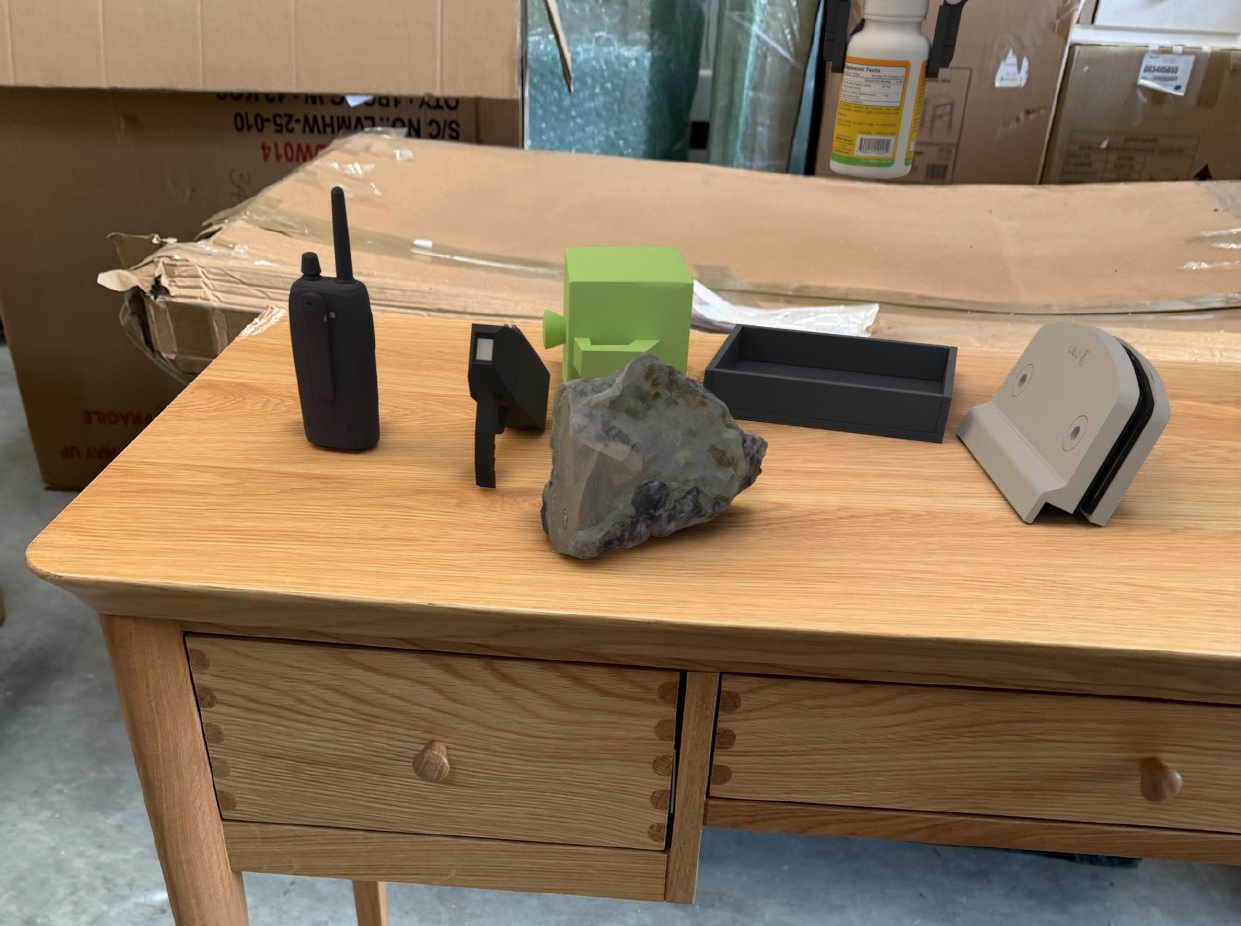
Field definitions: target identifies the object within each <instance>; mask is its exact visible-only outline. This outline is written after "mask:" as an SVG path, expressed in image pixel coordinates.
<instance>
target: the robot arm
mask: <svg viewBox="0 0 1241 926" xmlns="http://www.w3.org/2000/svg"><path fill="white" fill-rule="evenodd" d="M968 1H969V0H943V1H942V3H941V4H939V5H938V11H937V17H936V23H935V28H934V34H933V37H932V38H933V39H932V43H931V44H932V50H931V55H930V61H929V66H928V72H927V79H928V80H929V79H932V80H938V79H939V76H940V72H941V69H949V66H950V64H951V63H952V61H953V59H954V57H955V51H956V46H957V41H958V35H959V30H960V25H961V19H962V14H963V9H964V7H965V5H966V4H967V3H968ZM854 7H855V0H828V10H827V17H826V25H825V31H824V32H825V34H824V38H823V39H824V40H823V46H822V47H823V48H822V54H823V55H822V56H823V61H824V62H827V63H829V62H830V63H831V65H830V73H831V74H839V75H840V74H841V75H842V72H843V65H844V58H845V52H846V46H847V43H848V41H849V39H850V37H851V36H850V35H851V28H852V21H853V15H854Z"/></svg>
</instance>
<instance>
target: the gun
mask: <svg viewBox="0 0 1241 926" xmlns="http://www.w3.org/2000/svg"><path fill="white" fill-rule="evenodd" d="M510 326H511V327H510ZM510 326H509V324H508V323H503V325H501V324H500V325H498V324H486V323H471V328H470V329H471V330H470V340H469V341H470V342H469V354H468V367H467V384H468V390H469V397H470V398H472V400H473V401H474V402H475V403H476V408H475V409H476V410H475V411H476V412H475V425H474V476H475V485H476V486H477V487H479V488H484V489H493V490H494V489H497V478H496V476H497V475H496V469H495V468H496V456H495V455H496V450H497V449H496V447H497V445H496V436H497V435H500V436H501V435H503V434H504V433H505V430H506V429H513V430H524V431H525V430H526V431H534V432H535V431H537V432H546V425H547V414H548V405H549V395H550V384H551V372H549V370H548V368H547V366H546V365H545V363H544V362H543V360H542V358H541V357H540V355H539V353H537V351H536V349H535V348H534V347H533V346H532V343H530V341H529V339H528V338H527V337H526V335H525V334H524V333H523V331H522V330H521V329H520V328H519V327H518V326H517V325H516V324H511V325H510Z"/></svg>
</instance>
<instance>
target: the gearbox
mask: <svg viewBox="0 0 1241 926" xmlns="http://www.w3.org/2000/svg"><path fill="white" fill-rule="evenodd" d="M563 257H564V261H563V264H564V265H563V267H564V268H563V307H562V308H563V310H562V315H561V314H559V313H556V312H554V311H552V310H549V309H544V311H543V316H542V317H543V318H542V345H543V348H544V351H545V350H550V349H553V348H556V347H559V346H561V345H562V356H561V357H562V358H561V359H562V360H561V365H562V366H561V373H562V374H561V375H562V382H563V381H569V380H575V379H583V378H585V379H589V380H592V379H595V378H598V377H600V378H603V379H604V378H606V377H608V376H610V375H611V374H612V373H614V372H615V371H616V370H622V369H623V368H624V367H625V366H626V365H627V364H628V363H629V362H630V361H631V360H632V359H637V358H638V357H639V356H640V355H641V354H642V352H646V353H650V354H652V355H654V356H655V357H657V358H659V359H660V360H661V361H662V362H664V363H667V364H669V365H671V366H673V367H674V368H677V369H678V370H680V371H681V372H682V374H683V375H684V377H687V370H688V362H689V361H688V360H689V347H690V336H691V326H692V325H691V323H692V313H693V312H692V311H693V300H694V287H695V282H694V279H693V276H692V273H691V271H690V268H689V266H688V264H687V261H686V260H685V258H684V255H683V254H682V253H681V251H680V249H679V248H678V247H677V248H676V247H670V246H659V245H601V246H600V245H599V246H596V245H595V246H567V247H566V248H564V256H563Z"/></svg>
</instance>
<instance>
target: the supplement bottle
mask: <svg viewBox="0 0 1241 926" xmlns="http://www.w3.org/2000/svg"><path fill="white" fill-rule="evenodd" d="M930 1H931V0H863V5H862V14H861V18H862V19H864V24H863V27H862V29H861V30H860V31H857V32H855V33H854V34H852V35H851V36H849V41H848V43H847V46H846V52H845V58H844V65H843V72H842V74H841V82H840V87H839V95H838V100H837V101H838V102H837V109H836V116H835V124H834V129H833V137H832V145H831V150H830V151H831V152H830V161H829V167H830V169H831V171H832V172H834V173H836V174H839V175H843V176H849V177H857V178H864V179H866V178H867V179H894V178H900V177H905V176H906V175H908V174H909V173H910V171H911V169H912V165H913V160H914V154H915V147H916V142H917V136H918V131H919V127H920V126H919V125H920V121H921V120H920V119H921V114H922V109H923V102H924V98H925V93H926V87H927V81H928V78H927V72H928V66H929V61H930V55H931V50H932V44H933V43H932V41H931V39H930V38H929V36H927V35H925V34H924V33H923V32H922V25H923V22H925V21H926V20H927V16H928V14H929V7H930Z"/></svg>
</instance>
